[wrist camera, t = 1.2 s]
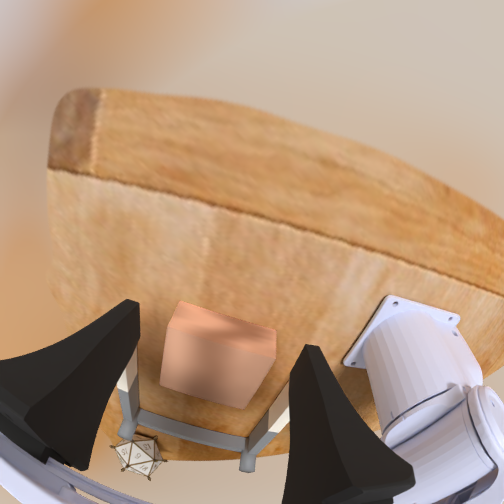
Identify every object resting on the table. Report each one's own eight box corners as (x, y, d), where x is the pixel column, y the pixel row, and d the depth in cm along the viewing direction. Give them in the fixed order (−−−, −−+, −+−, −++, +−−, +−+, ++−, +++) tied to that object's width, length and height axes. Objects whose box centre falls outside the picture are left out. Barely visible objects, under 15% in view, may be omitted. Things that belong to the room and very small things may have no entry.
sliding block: (276, 327, 22) (275, 358, 19) (247, 381, 25) (244, 409, 22) (181, 297, 21) (167, 326, 18) (169, 358, 25) (159, 385, 22)
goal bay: (282, 411, 27) (281, 448, 23) (254, 443, 32) (252, 473, 27) (124, 366, 26) (107, 400, 22) (129, 409, 31) (118, 436, 26)
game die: (162, 421, 38) (185, 472, 32) (128, 435, 38) (148, 482, 32) (128, 418, 31) (153, 479, 25) (94, 432, 31) (114, 487, 25)
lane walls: (318, 356, 23) (321, 382, 20) (279, 410, 27) (278, 432, 24) (125, 301, 22) (109, 323, 19) (127, 368, 26) (117, 388, 23)
